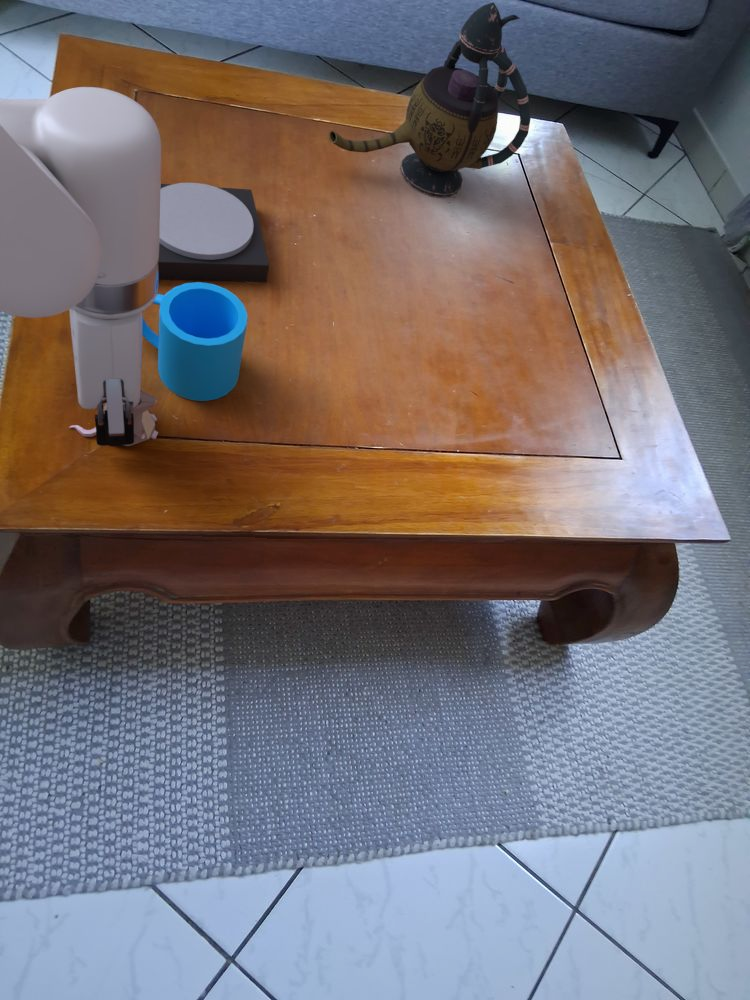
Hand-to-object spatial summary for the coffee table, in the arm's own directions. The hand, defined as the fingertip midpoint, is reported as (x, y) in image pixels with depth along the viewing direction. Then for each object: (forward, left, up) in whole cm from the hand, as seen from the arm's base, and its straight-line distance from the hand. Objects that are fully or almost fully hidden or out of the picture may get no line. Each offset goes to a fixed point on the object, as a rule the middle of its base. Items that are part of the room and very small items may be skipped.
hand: (113, 416), depth 71 cm
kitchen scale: (+11, +27, -2) cm, 29 cm away
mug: (+7, +8, -2) cm, 11 cm away
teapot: (+42, +42, -2) cm, 59 cm away
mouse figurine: (0, 0, -2) cm, 2 cm away
